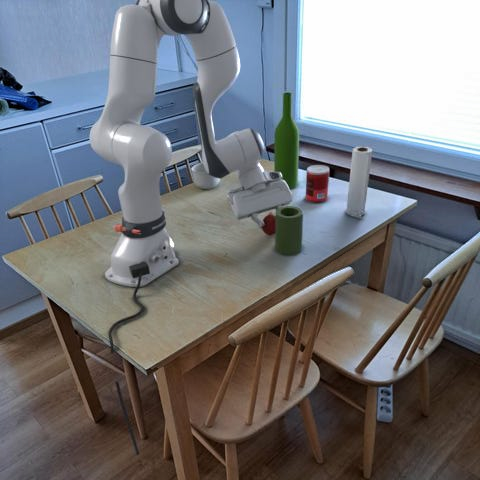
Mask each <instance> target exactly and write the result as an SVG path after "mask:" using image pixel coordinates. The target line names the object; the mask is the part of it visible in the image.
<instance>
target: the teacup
mask: <svg viewBox="0 0 480 480" xmlns="http://www.w3.org/2000/svg"><path fill="white" fill-rule="evenodd" d="M190 170H191V174H192V175H191V176H192V179H193V183H194V185H195V186H196V187H198V188H200V189H201V190H211V189H214V188H215V187H217V186H218V184H219V183H220V181H221V179H220V178H215V177H213V176H210V175H209V174H208V173H207V171H206V170H205V167H204V165H203V161H202V162H198V163H196V164H194V165H193V166H191V167H190Z"/></svg>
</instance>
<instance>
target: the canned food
mask: <svg viewBox="0 0 480 480" xmlns="http://www.w3.org/2000/svg"><path fill="white" fill-rule="evenodd" d="M305 176H306V177H305V178H306V179H305V180H306V181H305V199H306V201H307V202H309V203H313V204H319V203H323V202H325V201H327V199H328V194H329V193H328V192H329V181H330V167H329V166H327V165H324V164H314V165H310V166H308V167H307V168H306V175H305Z"/></svg>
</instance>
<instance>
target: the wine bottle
mask: <svg viewBox="0 0 480 480" xmlns="http://www.w3.org/2000/svg"><path fill="white" fill-rule="evenodd" d="M282 96H283V97H282V116H281V119H280V120H279V122H278V124H277V126H276V127H275V130H274V135H273V136H274V138H273V139H274V141H273V142H274V144H273V145H274V146H273V147H274V151H273V152H274V157H273V159H274V161H273V162H274V167H273V168H274V169H273V170H274V171H273V172H280V173H281V175H282V178H281V180H283V181H285V182H286V184H287V185H288V187H289V189H290V190H293V189H296V188H297V187H298V185H299V156H300V155H299V153H300V131H299V127H298V125H297V123H296V122H295V121H294V118H293V116H292V115H293V114H292V110H293V109H292V107H293V106H292V101H293V99H292V97H293V93H292V92H284V93H282Z"/></svg>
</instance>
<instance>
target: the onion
mask: <svg viewBox="0 0 480 480" xmlns="http://www.w3.org/2000/svg"><path fill="white" fill-rule="evenodd" d="M268 212H269V213H268V214H267V215H265V216H264V217H263V219H262V220H263V221H264V223H265V226H264V227H262V228H261V230H262V232H263V233H264V234H266V235H267V236H269V237H271V236H274V235H276V215H275V214H273V213H272V211H268Z"/></svg>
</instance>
